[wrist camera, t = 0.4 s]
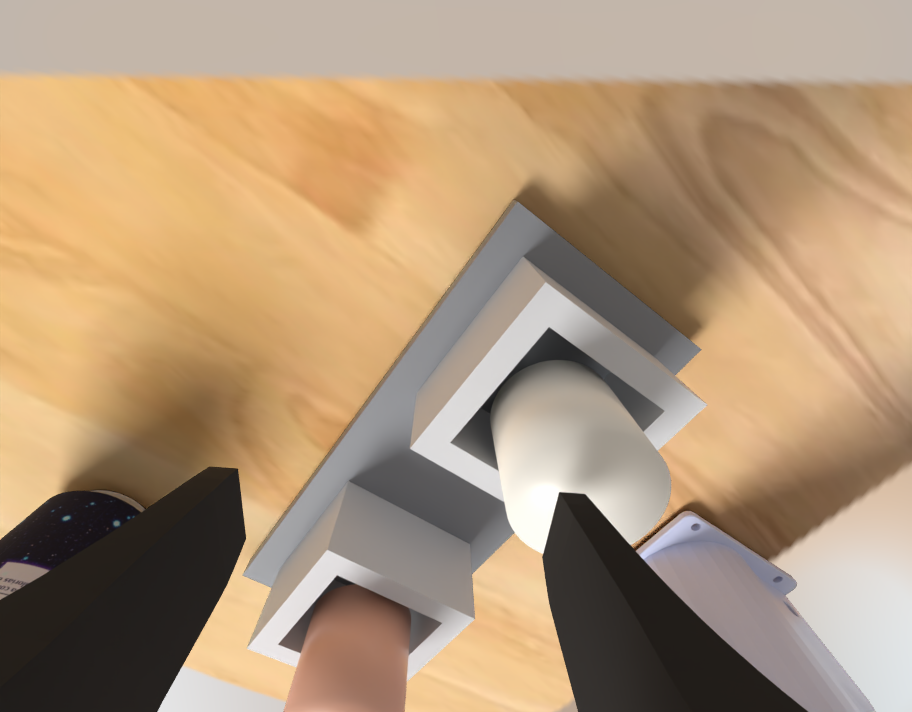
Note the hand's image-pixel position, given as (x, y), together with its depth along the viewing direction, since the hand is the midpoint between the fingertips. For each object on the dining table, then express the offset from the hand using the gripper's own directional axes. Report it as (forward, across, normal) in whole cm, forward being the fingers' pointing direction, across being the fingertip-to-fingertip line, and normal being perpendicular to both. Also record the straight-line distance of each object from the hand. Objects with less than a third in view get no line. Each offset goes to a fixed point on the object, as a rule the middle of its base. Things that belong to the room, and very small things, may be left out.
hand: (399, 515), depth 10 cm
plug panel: (+10, -2, +6) cm, 12 cm away
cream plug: (+5, -5, 0) cm, 7 cm away
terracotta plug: (+6, +2, +12) cm, 13 cm away
